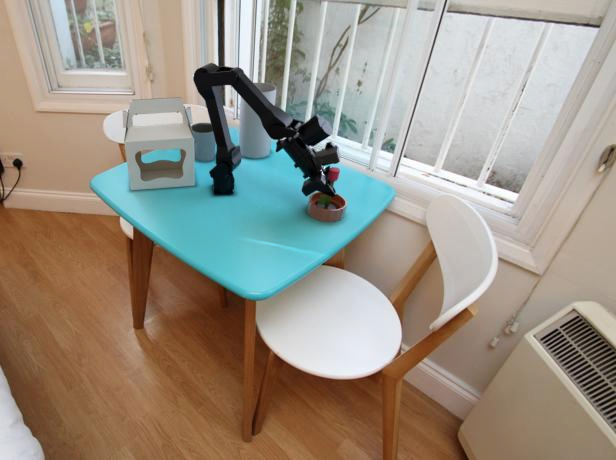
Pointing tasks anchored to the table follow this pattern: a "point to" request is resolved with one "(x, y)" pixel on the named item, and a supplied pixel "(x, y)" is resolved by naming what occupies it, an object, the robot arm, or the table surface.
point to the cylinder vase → (255, 126)
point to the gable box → (159, 145)
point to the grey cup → (203, 142)
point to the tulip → (332, 177)
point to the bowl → (325, 213)
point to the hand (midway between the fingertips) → (334, 194)
